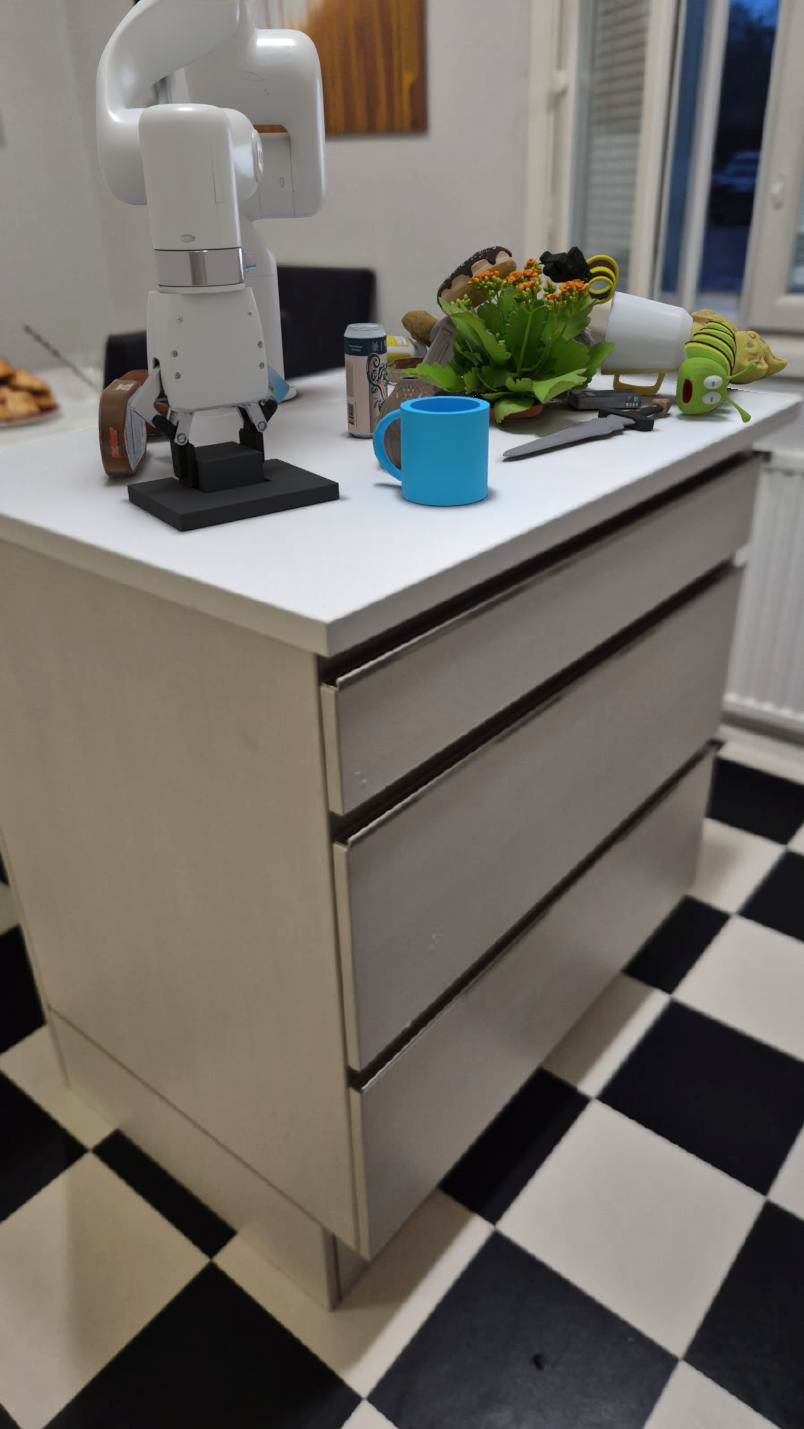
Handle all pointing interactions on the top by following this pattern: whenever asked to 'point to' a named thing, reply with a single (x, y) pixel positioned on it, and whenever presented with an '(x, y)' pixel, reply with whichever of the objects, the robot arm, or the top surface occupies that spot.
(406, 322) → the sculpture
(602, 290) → the opera glasses
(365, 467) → the top surface
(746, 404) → the top surface
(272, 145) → the robot arm
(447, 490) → the mug
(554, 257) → the toy gun
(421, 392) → the vase
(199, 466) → the small pad
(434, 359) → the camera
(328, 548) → the top surface
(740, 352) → the figurine
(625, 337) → the mug
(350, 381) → the beer can
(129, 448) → the tin
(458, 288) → the donut
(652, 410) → the dagger
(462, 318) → the potted flower
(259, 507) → the base pad
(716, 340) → the toy
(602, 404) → the mini dv tape
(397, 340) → the supplement bottle
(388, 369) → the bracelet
